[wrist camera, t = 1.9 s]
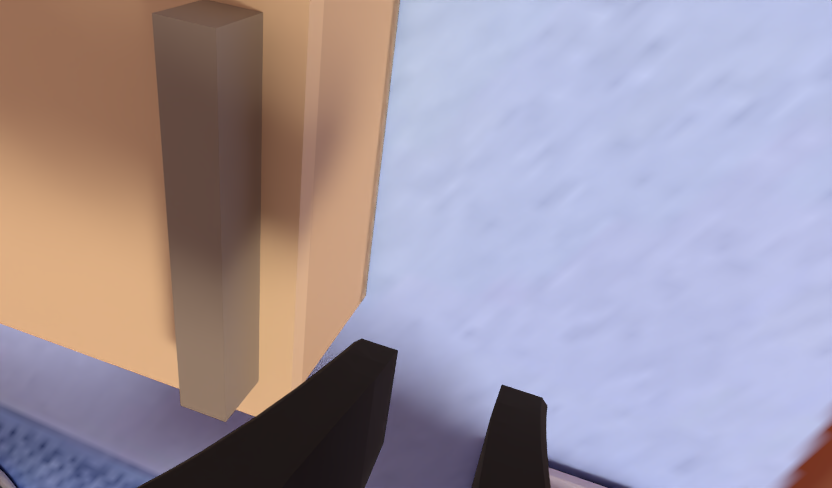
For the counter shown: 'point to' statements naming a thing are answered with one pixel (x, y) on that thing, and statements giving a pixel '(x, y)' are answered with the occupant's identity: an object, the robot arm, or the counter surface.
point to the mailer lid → (162, 187)
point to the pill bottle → (5, 481)
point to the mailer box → (346, 163)
